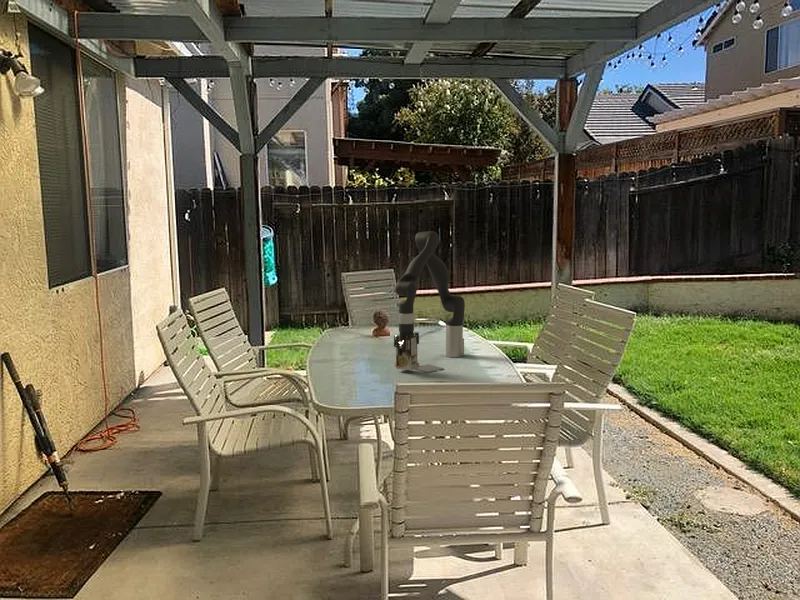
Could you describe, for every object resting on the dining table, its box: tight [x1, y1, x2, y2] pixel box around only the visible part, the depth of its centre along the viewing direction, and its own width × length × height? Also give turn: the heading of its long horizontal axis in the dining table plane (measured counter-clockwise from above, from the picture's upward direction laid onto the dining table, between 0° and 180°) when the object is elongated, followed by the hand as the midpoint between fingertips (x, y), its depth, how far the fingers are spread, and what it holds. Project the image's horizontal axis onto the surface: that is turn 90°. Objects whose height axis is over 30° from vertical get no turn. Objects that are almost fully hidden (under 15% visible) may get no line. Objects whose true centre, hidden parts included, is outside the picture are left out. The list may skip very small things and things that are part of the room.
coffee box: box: [395, 336, 418, 371], centre depth 339 cm, size 9×6×16 cm
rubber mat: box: [416, 363, 445, 374], centre depth 346 cm, size 11×12×1 cm
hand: (406, 354), depth 340 cm, fingers closed on coffee box, 8 cm apart
